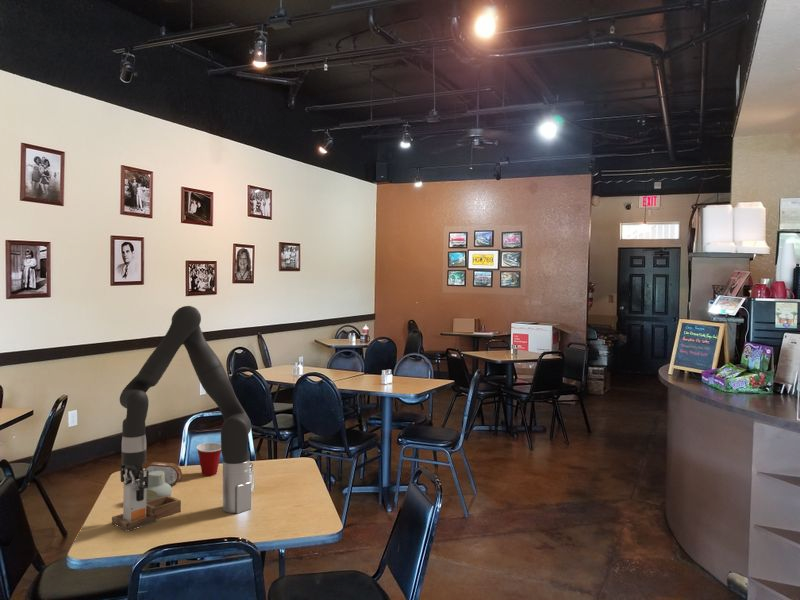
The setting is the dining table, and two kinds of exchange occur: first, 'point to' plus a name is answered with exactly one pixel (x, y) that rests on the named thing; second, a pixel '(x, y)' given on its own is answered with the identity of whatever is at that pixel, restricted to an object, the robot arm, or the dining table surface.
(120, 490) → the dining table surface
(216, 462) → the plastic cup
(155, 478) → the air freshener
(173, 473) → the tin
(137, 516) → the skincare box
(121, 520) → the caddy
